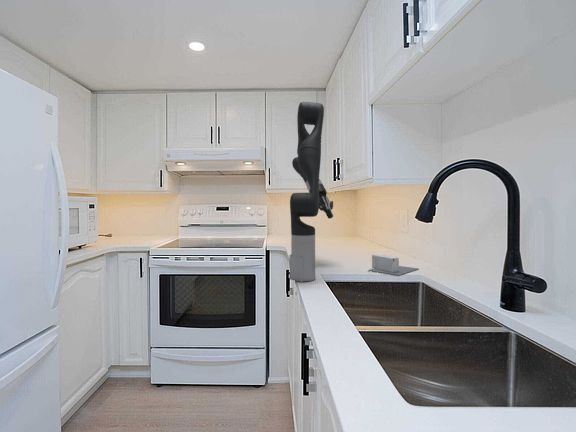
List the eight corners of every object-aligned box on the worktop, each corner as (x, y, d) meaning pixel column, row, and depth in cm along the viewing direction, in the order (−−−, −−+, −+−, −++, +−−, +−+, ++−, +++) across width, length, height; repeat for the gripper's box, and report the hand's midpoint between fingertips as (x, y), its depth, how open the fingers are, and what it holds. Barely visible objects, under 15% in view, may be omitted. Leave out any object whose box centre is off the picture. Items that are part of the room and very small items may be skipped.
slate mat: (398, 275, 135) (398, 274, 135) (368, 271, 145) (368, 270, 145) (418, 269, 148) (418, 268, 148) (389, 265, 158) (389, 264, 158)
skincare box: (378, 266, 152) (399, 271, 142) (371, 268, 150) (392, 273, 140) (378, 253, 152) (399, 257, 141) (371, 254, 150) (392, 258, 139)
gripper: (311, 181, 157) (327, 211, 149) (329, 185, 166) (345, 213, 158) (301, 191, 161) (316, 221, 153) (319, 194, 170) (334, 222, 162)
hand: (331, 217), depth 156 cm, fingers closed
